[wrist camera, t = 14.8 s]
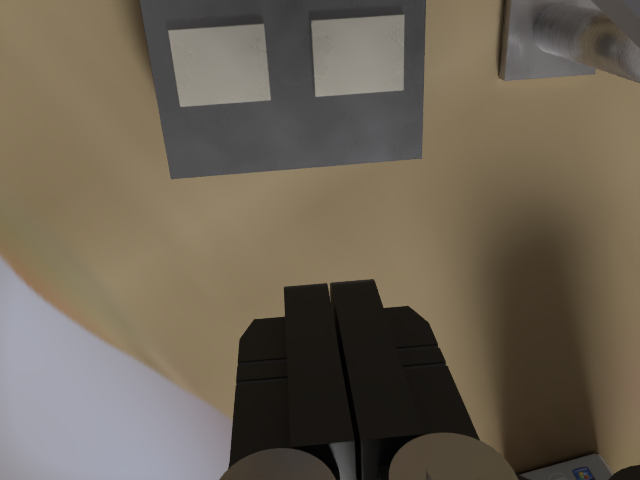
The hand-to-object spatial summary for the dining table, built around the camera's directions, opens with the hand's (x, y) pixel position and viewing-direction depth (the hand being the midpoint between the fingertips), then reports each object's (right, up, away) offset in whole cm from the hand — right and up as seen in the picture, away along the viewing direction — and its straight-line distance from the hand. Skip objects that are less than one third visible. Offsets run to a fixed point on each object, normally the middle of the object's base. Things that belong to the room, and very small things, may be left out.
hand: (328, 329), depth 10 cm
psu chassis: (-2, +12, +20) cm, 23 cm away
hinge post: (+12, +13, +21) cm, 27 cm away
